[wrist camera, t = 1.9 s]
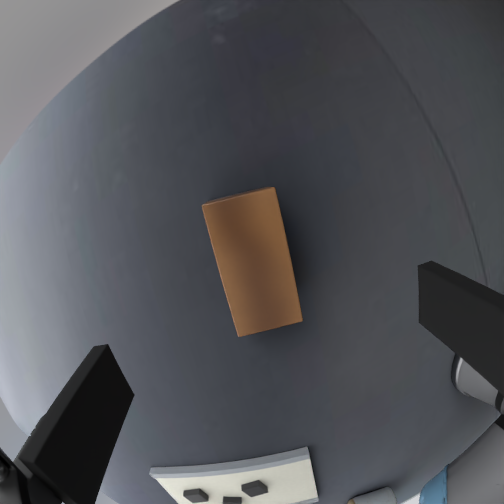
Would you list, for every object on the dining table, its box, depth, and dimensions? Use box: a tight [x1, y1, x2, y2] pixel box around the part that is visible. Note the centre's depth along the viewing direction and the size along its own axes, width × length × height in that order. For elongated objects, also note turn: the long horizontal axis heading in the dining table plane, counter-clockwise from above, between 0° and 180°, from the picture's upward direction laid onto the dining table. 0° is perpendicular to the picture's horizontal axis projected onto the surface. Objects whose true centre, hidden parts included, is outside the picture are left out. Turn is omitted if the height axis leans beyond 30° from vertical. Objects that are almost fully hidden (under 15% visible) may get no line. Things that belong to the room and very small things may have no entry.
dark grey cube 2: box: [222, 496, 242, 504], centre depth 32 cm, size 3×3×1 cm
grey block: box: [241, 480, 268, 497], centre depth 31 cm, size 3×3×1 cm
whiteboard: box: [150, 447, 319, 504], centre depth 32 cm, size 22×16×1 cm
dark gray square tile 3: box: [183, 488, 209, 503], centre depth 31 cm, size 3×3×1 cm
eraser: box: [202, 187, 303, 337], centre depth 23 cm, size 5×10×5 cm, turn 13°
